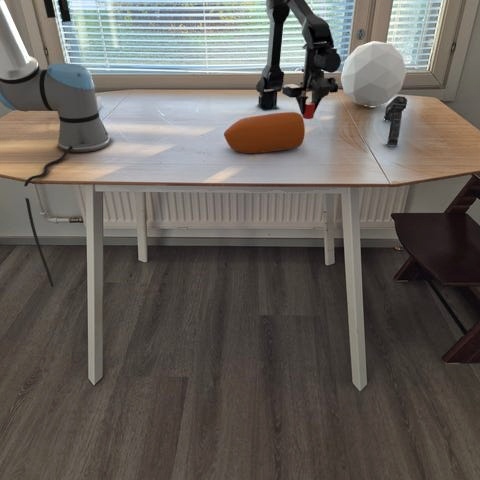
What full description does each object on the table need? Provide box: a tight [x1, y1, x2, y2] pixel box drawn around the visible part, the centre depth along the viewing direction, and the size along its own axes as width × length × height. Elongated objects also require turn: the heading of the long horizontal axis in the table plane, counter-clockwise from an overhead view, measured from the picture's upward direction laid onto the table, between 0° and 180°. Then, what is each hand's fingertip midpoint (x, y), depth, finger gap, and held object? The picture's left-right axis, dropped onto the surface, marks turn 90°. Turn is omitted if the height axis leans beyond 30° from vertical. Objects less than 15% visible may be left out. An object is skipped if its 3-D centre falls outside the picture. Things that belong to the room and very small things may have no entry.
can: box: [302, 101, 315, 120], centre depth 139 cm, size 4×4×5 cm
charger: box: [96, 94, 103, 111], centre depth 158 cm, size 5×9×15 cm
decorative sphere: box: [340, 40, 408, 109], centre depth 161 cm, size 24×25×25 cm
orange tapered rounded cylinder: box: [223, 111, 306, 154], centre depth 125 cm, size 12×11×25 cm
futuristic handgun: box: [383, 95, 408, 147], centre depth 138 cm, size 4×29×15 cm, turn 164°
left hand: (59, 19), depth 139 cm, fingers open, 13 cm apart
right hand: (307, 114), depth 140 cm, fingers closed on can, 4 cm apart
